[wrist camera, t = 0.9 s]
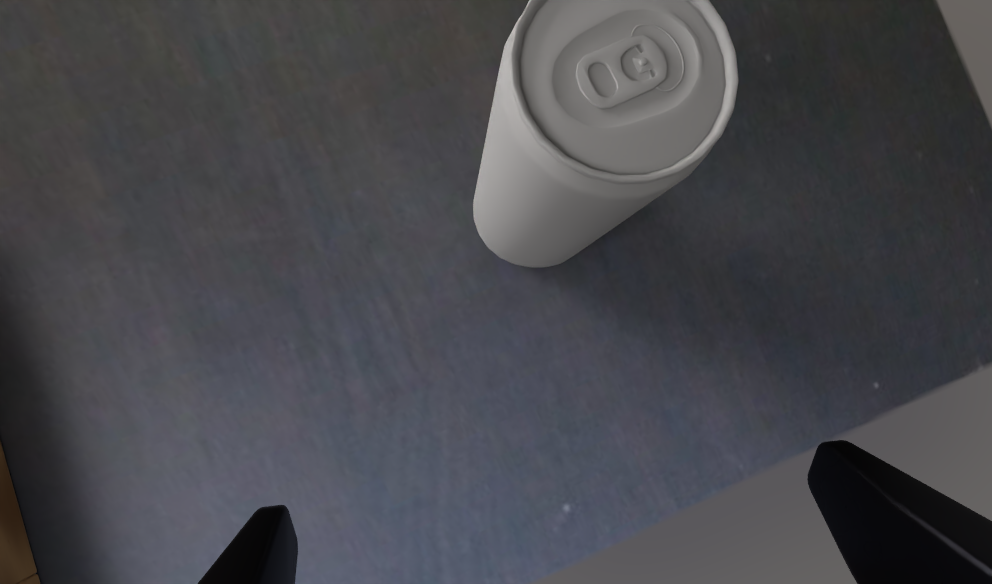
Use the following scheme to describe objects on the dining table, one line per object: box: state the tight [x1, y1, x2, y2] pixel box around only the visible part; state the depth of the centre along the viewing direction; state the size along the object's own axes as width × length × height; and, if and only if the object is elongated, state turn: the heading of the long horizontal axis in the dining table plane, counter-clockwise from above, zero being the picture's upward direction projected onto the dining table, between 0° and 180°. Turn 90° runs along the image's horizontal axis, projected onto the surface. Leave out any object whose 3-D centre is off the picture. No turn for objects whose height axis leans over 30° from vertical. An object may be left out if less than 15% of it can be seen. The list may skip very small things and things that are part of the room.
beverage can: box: [473, 0, 739, 267], centre depth 17 cm, size 5×5×12 cm
